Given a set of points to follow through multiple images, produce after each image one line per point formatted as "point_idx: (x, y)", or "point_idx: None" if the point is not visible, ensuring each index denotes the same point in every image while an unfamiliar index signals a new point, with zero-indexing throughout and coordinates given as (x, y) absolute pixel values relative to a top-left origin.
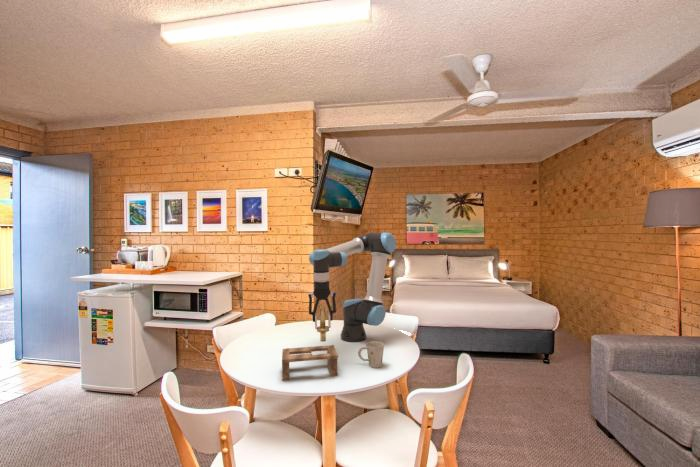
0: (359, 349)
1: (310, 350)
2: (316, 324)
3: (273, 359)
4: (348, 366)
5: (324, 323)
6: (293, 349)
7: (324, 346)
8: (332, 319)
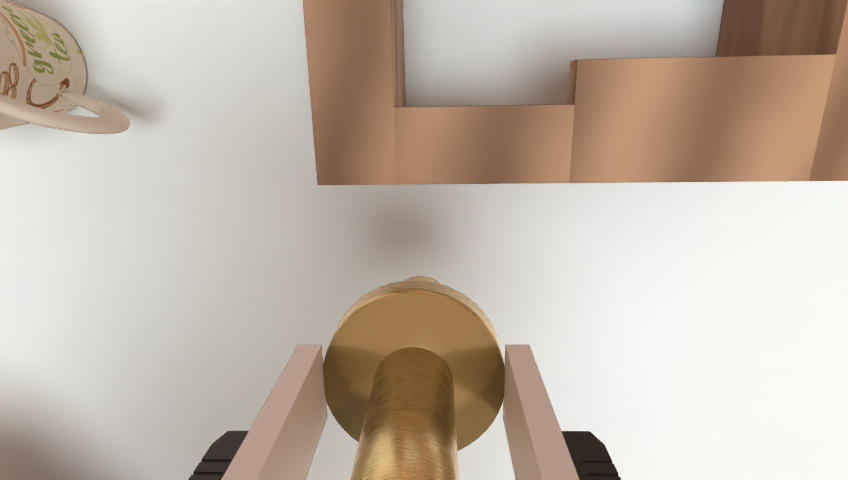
0: (77, 122)
1: (588, 60)
2: (524, 384)
3: (792, 338)
4: (247, 86)
5: (381, 395)
6: (770, 131)
7: (420, 159)
8: (213, 443)
